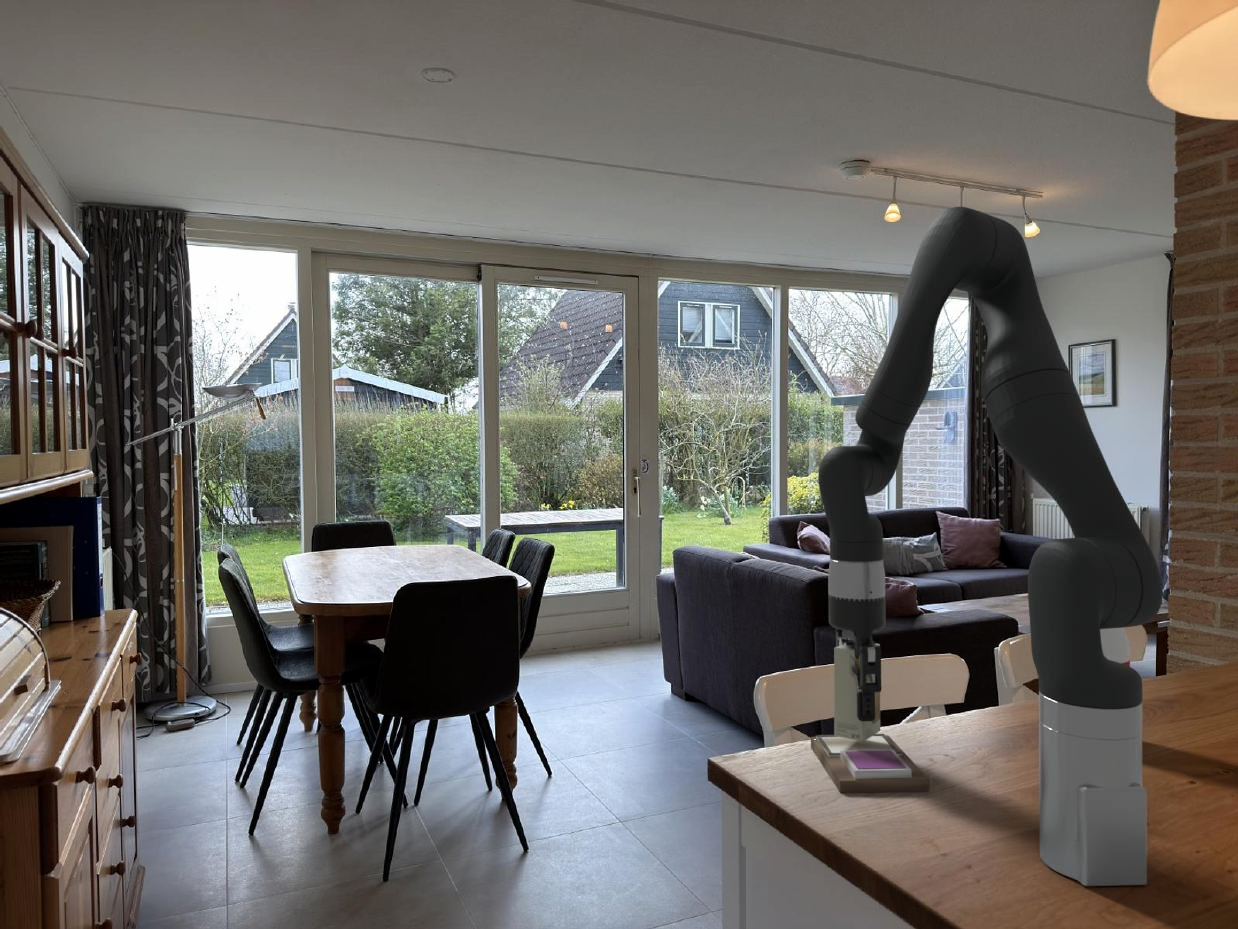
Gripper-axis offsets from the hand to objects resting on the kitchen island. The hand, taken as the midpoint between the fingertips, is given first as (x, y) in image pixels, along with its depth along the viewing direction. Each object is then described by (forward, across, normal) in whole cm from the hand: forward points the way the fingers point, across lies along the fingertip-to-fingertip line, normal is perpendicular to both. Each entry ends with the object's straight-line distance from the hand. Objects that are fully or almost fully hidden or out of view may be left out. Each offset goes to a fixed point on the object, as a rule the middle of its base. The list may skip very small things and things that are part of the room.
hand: (857, 711), depth 119 cm
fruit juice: (+6, +5, -35) cm, 36 cm away
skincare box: (+3, 0, 0) cm, 3 cm away
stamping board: (+6, -4, 0) cm, 8 cm away
